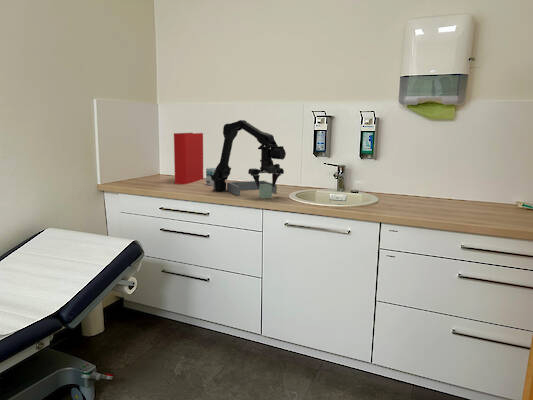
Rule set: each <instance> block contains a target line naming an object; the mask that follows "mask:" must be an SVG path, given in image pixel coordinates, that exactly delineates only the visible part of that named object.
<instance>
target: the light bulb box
mask: <svg viewBox="0 0 533 400" xmlns="http://www.w3.org/2000/svg"><path fill="white" fill-rule="evenodd" d="M216 167H217V166H216ZM216 167H207V168H205V174H206V175H205V180H206V181H205V184H206V186H212V187H214V181H212V179H211V176H212V175H213V174H214V173H215V170H216Z"/></svg>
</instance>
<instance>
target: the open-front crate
mask: <svg viewBox="0 0 533 400" xmlns="http://www.w3.org/2000/svg"><path fill="white" fill-rule="evenodd" d="M261 184H269V185H272V182H269V181H266V180H259V185H261ZM277 189H278V188H277V184H276V183H275V186H274V187H273V185H272V193H273V194H277ZM255 190H259V188H258V187H257V185H256V182H255V180H250V181H247V180H245V181H230V182H229V181H228V182H226V192H229V193H232V194H234V195H235V196H238V197H239V196H241V191H255Z"/></svg>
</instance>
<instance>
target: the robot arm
mask: <svg viewBox="0 0 533 400" xmlns="http://www.w3.org/2000/svg"><path fill="white" fill-rule="evenodd" d="M242 130H243V131H245V132H246V133H248V134H249V135H251V136H252V137H254V139H256V141H257V142H258V143H259V144H260V145H259V146H258V147H257V150H260V151H261V152H260V155H261V157H260V158H261V159H260V160H259V161H260V167H259V169H258V168H249V169H248V174H249V175H250V176H251V177H252V179H254V180H253V181H255V182H256V185H257V187H258V188H259V181H260V176H261V175H260V174H268V175H270V174H271V175H272V176H271V179H272V180H271V183H272V185H273V187H274V186H275V184H276V183H277V181H278V178H279V177H280V176H282V175H284V173H285V170H284V168H281V166H280V164H279V163H275V164H274V160H281V161H283V160H284V159H285V157H286V153H287V152H286V150H285V148H284V146H283V145H282V146H281V145H278V144H277V142H276V140H275V138H274V135H273V134H270V133H268V132H264V131H262V130H261V129H259V128H257V127H255V126H254V125H252V124H251V123H249V122H248V121H246V120H245V119H244V120H242V119H239V120H238V121H234V122H232V123H225V124H224V125H223V128H222V135H223V137H224V140H223V145H222V150H221V156H220V160H219V163H218V164H217V166H216V170H215V173H214V174H213V175H212V176H211V179H212V181H214V186H213V188H212V190H213V191H214V192H227V182H226V181H227V180H228V178H229V176H230V175H231V170H232V167H230V166H229V162H230V157H231V153H232V152H231V151H232V147H233V143H234V140H235V138H236V137H237V135H238V132H239V131H242Z"/></svg>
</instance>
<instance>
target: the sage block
mask: <svg viewBox="0 0 533 400" xmlns="http://www.w3.org/2000/svg"><path fill="white" fill-rule="evenodd" d="M258 190H259V191H258V192H259V195H258V197H259V198H260V199H262V198H263V200H266V199H265V198H269V199H272V197H273V196H272V195H273V194H272V185H269V184H261V185H259V189H258Z"/></svg>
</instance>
